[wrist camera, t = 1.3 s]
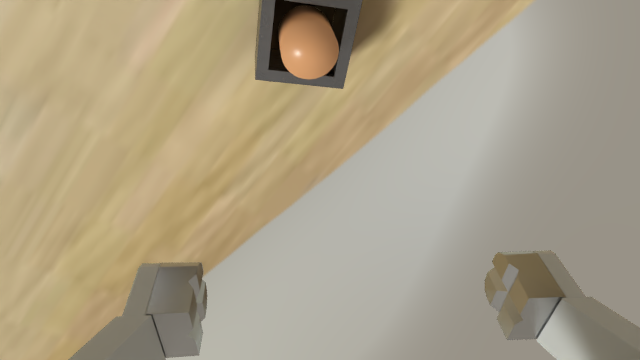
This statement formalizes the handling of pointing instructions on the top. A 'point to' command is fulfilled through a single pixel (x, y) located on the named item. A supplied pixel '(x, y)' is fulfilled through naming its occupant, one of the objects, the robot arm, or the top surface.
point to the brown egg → (307, 42)
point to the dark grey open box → (270, 60)
